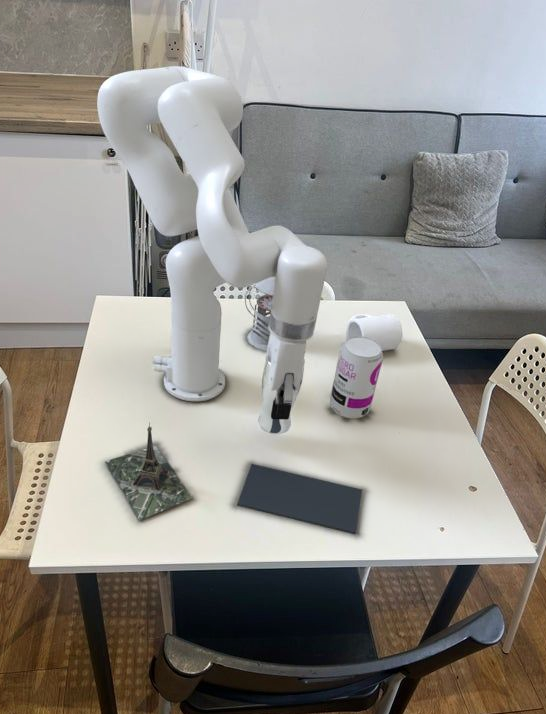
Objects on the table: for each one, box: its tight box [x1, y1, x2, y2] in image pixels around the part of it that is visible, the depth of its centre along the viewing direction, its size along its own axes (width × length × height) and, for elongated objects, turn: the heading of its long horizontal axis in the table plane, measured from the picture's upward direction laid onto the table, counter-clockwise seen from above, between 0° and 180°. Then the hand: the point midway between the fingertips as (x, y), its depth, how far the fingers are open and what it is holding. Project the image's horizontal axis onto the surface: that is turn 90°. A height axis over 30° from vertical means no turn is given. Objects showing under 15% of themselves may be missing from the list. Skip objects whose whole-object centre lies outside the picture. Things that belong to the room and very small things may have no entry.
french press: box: [244, 277, 276, 352], centre depth 139 cm, size 10×12×25 cm
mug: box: [346, 313, 403, 352], centre depth 146 cm, size 12×10×8 cm
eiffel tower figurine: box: [104, 421, 194, 521], centre depth 105 cm, size 15×10×13 cm
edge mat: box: [236, 463, 363, 535], centre depth 109 cm, size 20×10×1 cm, turn 77°
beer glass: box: [257, 353, 306, 435], centre depth 113 cm, size 7×7×15 cm
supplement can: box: [329, 336, 384, 420], centre depth 125 cm, size 8×8×15 cm
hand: (277, 404), depth 115 cm, fingers closed on beer glass, 6 cm apart
